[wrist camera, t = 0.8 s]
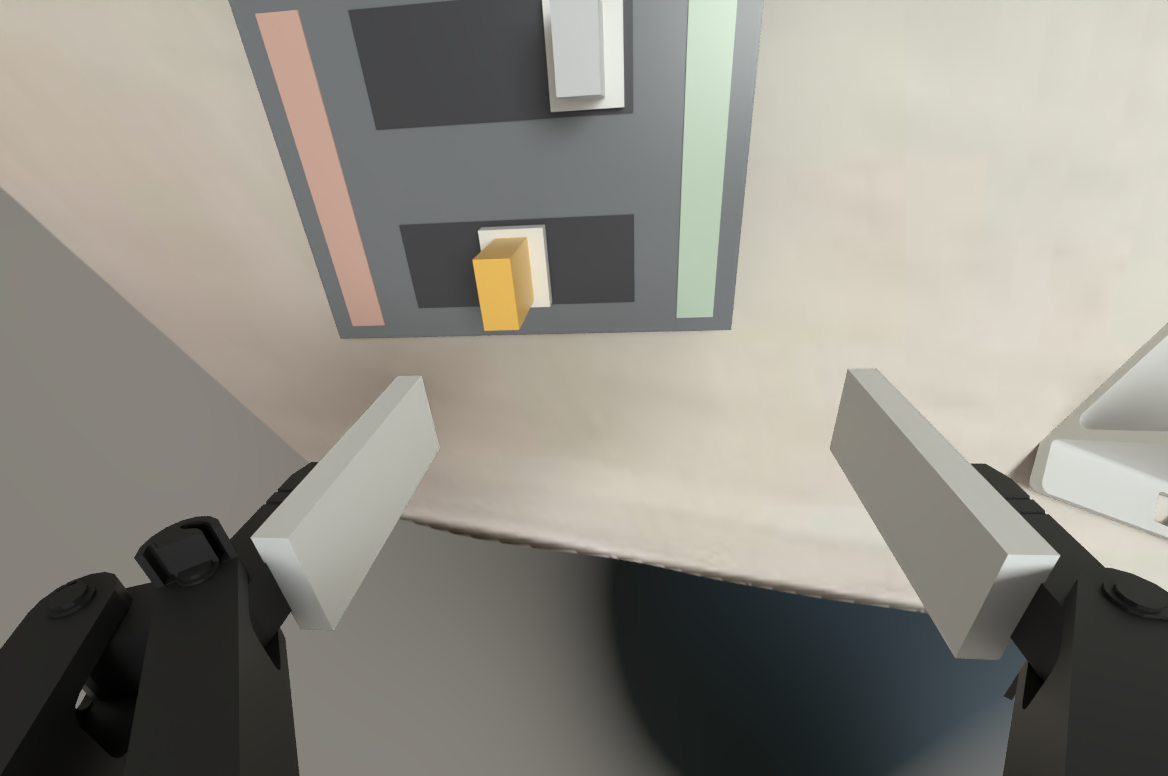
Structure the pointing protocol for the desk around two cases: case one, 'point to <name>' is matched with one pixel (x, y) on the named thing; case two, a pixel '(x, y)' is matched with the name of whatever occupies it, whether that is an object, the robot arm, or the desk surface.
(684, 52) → the breaker panel
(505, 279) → the breaker handle
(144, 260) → the desk surface
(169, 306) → the desk surface
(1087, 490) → the tablet stand
